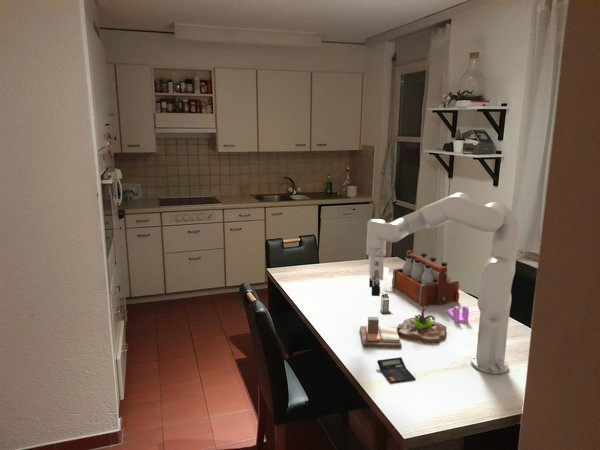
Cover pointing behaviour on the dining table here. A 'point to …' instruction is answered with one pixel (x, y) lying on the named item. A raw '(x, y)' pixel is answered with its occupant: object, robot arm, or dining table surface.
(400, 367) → the calculator
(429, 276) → the milk bottle holder
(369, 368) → the dining table surface
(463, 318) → the bracket
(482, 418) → the dining table surface
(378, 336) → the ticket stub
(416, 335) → the plant
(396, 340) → the board
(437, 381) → the dining table surface
